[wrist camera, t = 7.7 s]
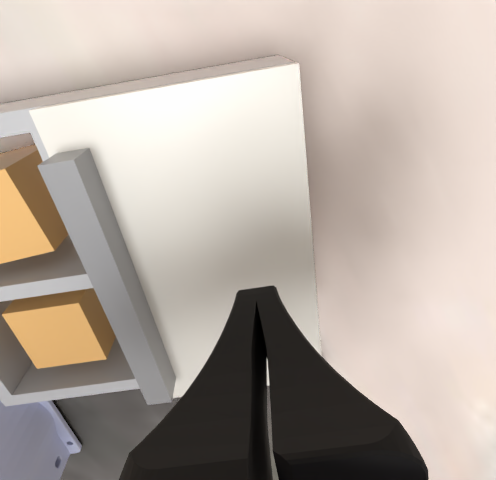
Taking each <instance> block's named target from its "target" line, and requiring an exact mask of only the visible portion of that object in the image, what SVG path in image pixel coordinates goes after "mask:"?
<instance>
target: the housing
mask: <svg viewBox="0 0 496 480" xmlns="http://www.w3.org/2000/svg"><path fill="white" fill-rule="evenodd" d="M289 63H295V61H292V60H290V59H287V58H285V57H282V56H280V55H274V56H268V57H263V58H257V59H251V60H246V61H240V62H234V63H229V64H223V65H217V66H212V67H206V68H200V69H195V70H189V71H183V72H178V73H172V74H166V75H161V76H155V77H149V78H144V79H138V80H132V81H127V82H121V83H116V84H110V85H104V86H99V87H93V88H87V89H82V90H76V91H70V92H65V93H59V94H53V95H48V96H42V97H36V98H31V99H25V100H19V101H14V102H8V103H2V104H0V138H2V137H7V136H13V135H19V134H25V133H30V134H31V136H32V138H33V140H34V142H35V145H36V147H37V149H38V151H39V154H40V156H41V158H42V160H43V162H44V161H45V160H47V159H48V158H49V156H48V153H47V151H46V149H45V147H44V144H43V142H42V140H41V137H40V135H39V133H38V131H37V128H36V126H35V124H34V122H33V119H32V117H31V115H30V112H29V110H32V109H35V108H38V107H43V106H49V105H55V104H60V103H66V102H72V101H78V100H83V99H89V98H95V97H100V96H106V95H112V94H118V93H123V92H129V91H135V90H140V89H146V88H152V87H158V86H163V85H169V84H175V83H180V82H186V81H192V80H198V79H203V78H209V77H215V76H220V75H226V74H232V73H238V72H243V71H249V70H255V69H260V68H266V67H272V66H277V65H283V64H289ZM132 389H140V388H139V385H138V383H137V381H136V379H135V377H134V375H133V372H132V370H131V368H130V366H129V364H128V362H127V359H126V357H125V355H124V353H123V351H122V349H121V346H120V344H119V342H118V340H117V338H116V336H115V333H114V331H113V329H112V327H111V325H110V323H109V320H108V318H107V316H106V314H105V312H104V310H103V307H102V305H101V303H100V301H99V299H98V297H97V294H96V292H95V290H94V288H93V286H92V284H91V281H90V279H89V277H88V275H87V273H86V271H85V268H84V266H83V264H82V262H81V260H80V258H79V255H78V253H77V251H76V249H75V247H74V245H73V242H72V240H71V238H70V236H69V235H68V236H67V237H66V238H65V239H64V240H63V242H62V243H61V244H60V245H59V246H58V248H57V249H56V250H55V251H52V252H48V253H44V254H40V255H36V256H31V257H27V258H23V259H19V260H15V261H11V262H6V263H2V264H0V401H1V402H2V403H3V404H4V406H12V405H20V404H27V403H35V402H42V401H50V400H57V399H65V398H72V397H80V396H87V395H95V394H102V393H110V392H117V391H125V390H132Z"/></svg>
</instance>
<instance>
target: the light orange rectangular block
mask: <svg viewBox="0 0 496 480" xmlns="http://www.w3.org/2000/svg"><path fill="white" fill-rule="evenodd" d="M42 162H43V160H42V158H41V156H40V154H39V151H38V149H37V147H36V145H35V144H34V145H30V146H27V147H23V148H19V149H16V150H12V151H8V152H5V153H1V154H0V264H2V263H6V262H11V261H15V260H19V259H23V258H27V257H31V256H36V255H40V254H44V253H48V252H52V251H55V250H56V249H57V248H58V246H59V245H60V244H61V243H62V242H63V240H64V239H65V238H66V237H67V236H68V235H69V234H68V232H67V229H66V227H65V225H64V223H63V221H62V219H61V216H60V214H59V212H58V210H57V208H56V206H55V203H54V201H53V199H52V197H51V195H50V193H49V190H48V188H47V186H46V184H45V182H44V180H43V177H42V175H41V173H40V171H39V169H38V167H37V166H38V165H39V164H41V163H42Z"/></svg>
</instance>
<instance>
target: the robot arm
mask: <svg viewBox="0 0 496 480" xmlns="http://www.w3.org/2000/svg"><path fill="white" fill-rule="evenodd" d="M267 360H268V371H269V385H270V401H271V419H272V441H273V454H274V459H275V463H276V468H277V473H278V477H279V480H428V469H427V467H426V465H425V462H424V460H423V458H422V456H421V454H420V453H419V451H418V449H417V447H416V446H415V444H414V442H413V441H412V439H411V438H410V436H409V435H408V433H407V432H406V430H405V429H404V428H403V426H402V425H401V423H400V422H399V421H398V420H397V419H396V418H394V417H393V416H391V415H390V414H388V413H387V412H385V411H384V410H383V409H381V408H380V407H379V406H377V405H376V404H374V403H373V402H372V401H370V400H369V399H368V398H367V397H365V396H364V395H363V394H362V393H360V392H359V391H358V390H357V389H355V388H354V387H353V386H352V385H351V384H350V383H349V382H348V381H346V380H345V379H344V378H343V377H342V376H341V375H340V374H339V373H337V372H336V371H335V370H334V369H333V368H332V367H331V366H330V365H329V364H328V363H327V362H326V361H325V360H324V358H323V357H322V356H321V355H320V354H319V353H318V352H317V351H316V350H315V349H314V347H313V346H312V345H311V344H310V343H309V341H308V340H307V339H306V337H305V336H304V335H303V334H302V332H301V331H300V330H299V328H298V327H297V325H296V324H295V322H294V321H293V319H292V318H291V316H290V315H289V313H288V312H287V310H286V308H285V306H284V304H283V303H282V301H281V299H280V296H279V294H278V291H277V288H276V287H275V286H273V285H272V286H265V287H258V288H251V289H244V290H239V291H238V292H237V293H236V297H235V301H234V304H233V307H232V310H231V312H230V315H229V318H228V320H227V322H226V324H225V327H224V329H223V331H222V333H221V336H220V338H219V339H218V341H217V343H216V345H215V347H214V349H213V351H212V353H211V355H210V356H209V358H208V360H207V361H206V363H205V365H204V366H203V368H202V369H201V371H200V373H199V374H198V376H197V377H196V378H195V380H194V381H193V383H192V384H191V385H190V387H189V388H188V390H187V391H186V392H185V394H184V395H183V396H182V397H181V399H180V400H179V401H178V402H177V404H176V405H175V406H174V407H173V408H172V409H171V411H170V412H169V413H168V414H167V415H166V416H165V418H164V419H163V420H162V421H161V422H160V423H159V424H158V425H157V426H156V428H155V429H154V430H153V431H152V432H151V433H150V434H149V435H148V436H147V437H146V438H145V439H144V440H143V441H142V442H141V443H140V444H139V445H138V446H137V447H136V448H134V449H133V450H132V451H131V452H130V453H129V455H128V458H127V460H126V463H125V465H124V468H123V471H122V473H121V476H120V479H119V480H273V478H272V468H271V458H270V448H269V437H268V424H267ZM81 448H82V445H81V444H80V442H79V441H78V439H77V438H76V436H75V435H74V433H73V432H72V430H71V429H70V427H69V426H68V424H67V423H66V421H65V420H64V418H63V417H62V415H61V414H60V412H59V411H58V409H57V408H56V406H55V405H54V403H53V402H52V400H50V401H42V402H35V403H27V404H20V405H12V406H4V404H3V403H2V402H1V401H0V480H60V478H61V475H62V473H63V470H64V468H65V465H66V463H67V460H68V458H69V455H70V454H72V453H78V452H80V450H81Z"/></svg>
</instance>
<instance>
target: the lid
mask: <svg viewBox="0 0 496 480" xmlns="http://www.w3.org/2000/svg"><path fill="white" fill-rule="evenodd" d="M29 112H30V115H31V117H32V119H33V122H34V124H35V126H36V128H37V131H38V133H39V135H40V137H41V140H42V142H43V144H44V147H45V149H46V151H47V153H48V156H49V158H48V159H47V160H45V161H44V162H42V163H41V164H39V165H38V166H37V167H38V169H39V171H40V173H41V175H42V177H43V180H44V182H45V184H46V186H47V188H48V190H49V193H50V195H51V197H52V199H53V201H54V203H55V206H56V208H57V210H58V212H59V214H60V216H61V219H62V221H63V223H64V225H65V227H66V229H67V232H68V234H69V236H70V238H71V240H72V242H73V245H74V247H75V249H76V251H77V253H78V255H79V258H80V260H81V262H82V264H83V266H84V268H85V271H86V273H87V275H88V277H89V279H90V281H91V284H92V286H93V288H94V290H95V292H96V294H97V297H98V299H99V301H100V303H101V305H102V307H103V310H104V312H105V314H106V316H107V318H108V320H109V323H110V325H111V327H112V329H113V331H114V333H115V336H116V338H117V340H118V342H119V344H120V346H121V349H122V351H123V353H124V355H125V357H126V359H127V362H128V364H129V366H130V368H131V370H132V372H133V375H134V377H135V379H136V381H137V383H138V385H139V388H140V390H141V392H142V394H143V396H144V398H145V401H146V403H147V405H152V404H160V403H167V402H172V399H173V398H176V397H182V396H183V395H184V394H185V392H186V391H187V390H188V388H189V387H190V385H191V384H192V383H193V381H194V380H195V378H196V377H197V376H198V374H199V373H200V371H201V369H202V368H203V366H204V365H205V363H206V361H207V360H208V358H209V356H210V355H211V353H212V351H213V349H214V347H215V345H216V343H217V341H218V339H219V338H220V336H221V333H222V331H223V329H224V327H225V324H226V322H227V320H228V318H229V315H230V312H231V310H232V307H233V304H234V301H235V297H236V293H237V292H238V291H239V290H244V289H251V288H258V287H265V286H272V285H273V286H275V287H276V288H277V291H278V294H279V296H280V299H281V301H282V303H283V304H284V306H285V308H286V310H287V312H288V313H289V315H290V316H291V318H292V319H293V321H294V322H295V324H296V325H297V327H298V328H299V330H300V331H301V332H302V334H303V335H304V336H305V337H306V339H307V340H308V341H309V343H310V344H311V345H312V346H313V347H314V349H315V350H316V351H317V352H318V353H319V354H320V355H321V356H322V354H321V341H320V328H319V315H318V302H317V289H316V276H315V263H314V250H313V237H312V224H311V211H310V198H309V185H308V172H307V159H306V146H305V133H304V120H303V107H302V94H301V81H300V68H299V63H297V62H295V63H289V64H283V65H277V66H272V67H266V68H260V69H255V70H249V71H243V72H238V73H232V74H226V75H220V76H215V77H209V78H203V79H198V80H192V81H186V82H180V83H175V84H169V85H163V86H158V87H152V88H146V89H140V90H135V91H129V92H123V93H118V94H112V95H106V96H100V97H95V98H89V99H83V100H78V101H72V102H66V103H60V104H55V105H49V106H43V107H38V108H35V109H32V110H29ZM268 385H269V371H268V360H267V386H268Z"/></svg>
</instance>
